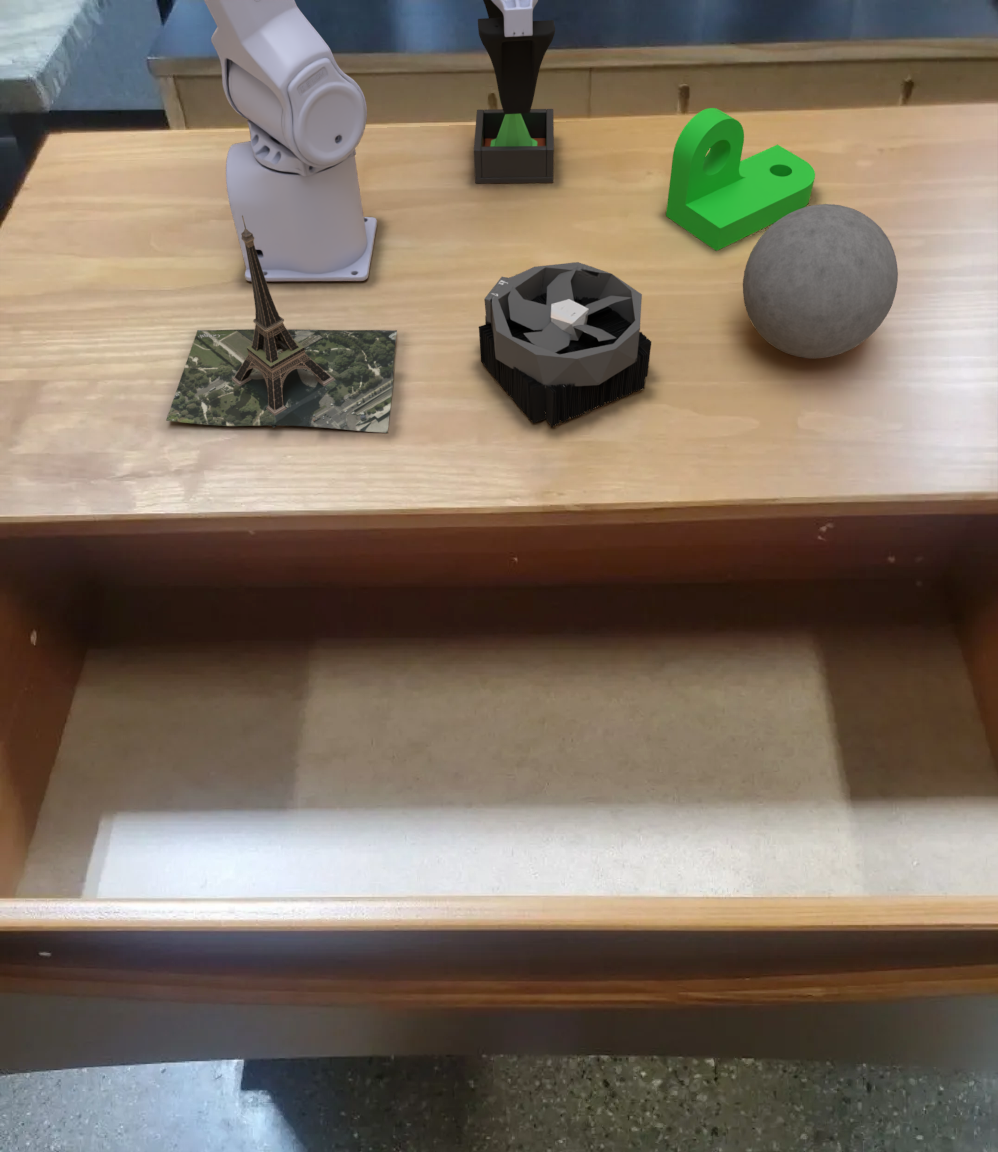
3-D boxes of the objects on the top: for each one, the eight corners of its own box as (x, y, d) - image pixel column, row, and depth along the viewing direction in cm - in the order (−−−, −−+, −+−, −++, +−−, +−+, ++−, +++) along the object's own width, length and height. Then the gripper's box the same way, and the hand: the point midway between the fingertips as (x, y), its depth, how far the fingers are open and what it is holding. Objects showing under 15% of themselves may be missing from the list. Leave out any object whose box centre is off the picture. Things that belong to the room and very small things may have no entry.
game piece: (545, 162, 87) (546, 93, 82) (497, 172, 86) (495, 102, 81) (529, 137, 89) (529, 68, 85) (482, 147, 89) (479, 78, 84)
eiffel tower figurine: (401, 335, 75) (380, 164, 64) (387, 433, 68) (361, 262, 58) (198, 334, 75) (144, 165, 65) (166, 431, 69) (100, 262, 58)
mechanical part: (716, 251, 80) (732, 155, 74) (665, 216, 83) (677, 121, 77) (825, 198, 84) (849, 103, 78) (773, 166, 87) (792, 72, 81)
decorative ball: (757, 397, 70) (787, 273, 62) (714, 307, 76) (736, 183, 68) (897, 378, 70) (944, 253, 62) (844, 290, 76) (880, 166, 69)
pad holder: (475, 183, 87) (473, 150, 84) (478, 142, 91) (476, 109, 88) (553, 183, 86) (553, 149, 84) (552, 141, 90) (553, 108, 88)
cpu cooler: (674, 322, 66) (539, 376, 63) (665, 389, 70) (539, 443, 67) (588, 241, 71) (460, 288, 68) (585, 308, 76) (465, 354, 73)
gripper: (577, -64, 68) (571, 131, 79) (558, -142, 77) (554, 43, 88) (472, -59, 68) (480, 136, 79) (464, -137, 77) (472, 47, 88)
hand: (513, 87), depth 83 cm, fingers open, 7 cm apart
